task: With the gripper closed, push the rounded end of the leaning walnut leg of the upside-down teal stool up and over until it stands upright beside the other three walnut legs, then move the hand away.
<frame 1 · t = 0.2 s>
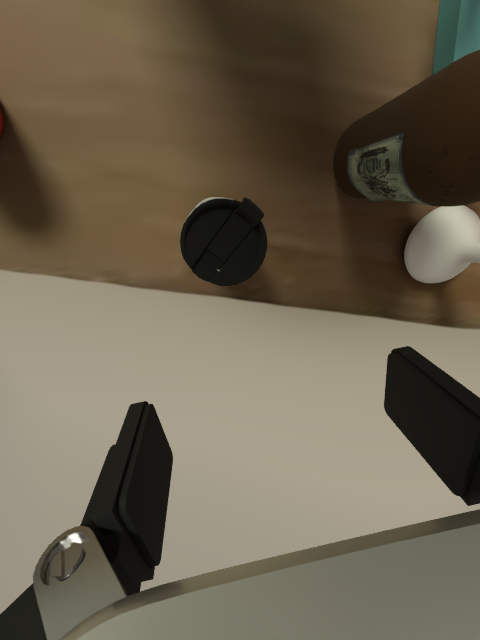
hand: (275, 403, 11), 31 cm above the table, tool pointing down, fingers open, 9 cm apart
flower in vase: (432, 249, 42), on the table
olive oil: (366, 159, 36), on the table
travel mug: (215, 221, 37), on the table
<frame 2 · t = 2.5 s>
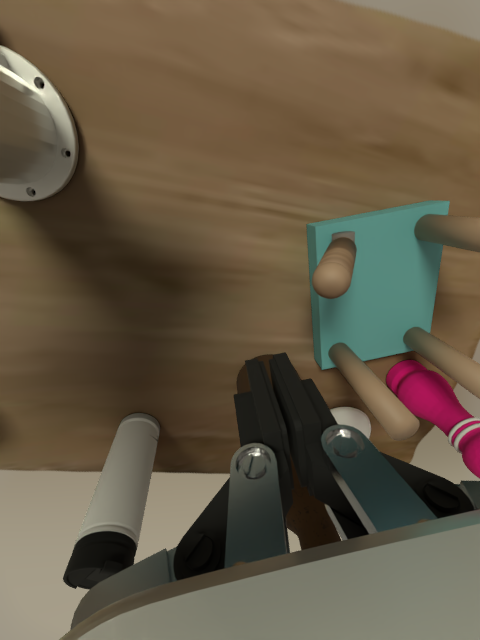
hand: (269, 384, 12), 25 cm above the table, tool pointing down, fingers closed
pepper mill: (402, 374, 46), on the table
flower in vase: (334, 428, 49), on the table
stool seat: (366, 287, 38), on the table
olive oil: (265, 378, 43), on the table
travel mug: (141, 425, 44), on the table
hinged leg: (340, 255, 28), point 8 cm above the table, hinge at 30.0°
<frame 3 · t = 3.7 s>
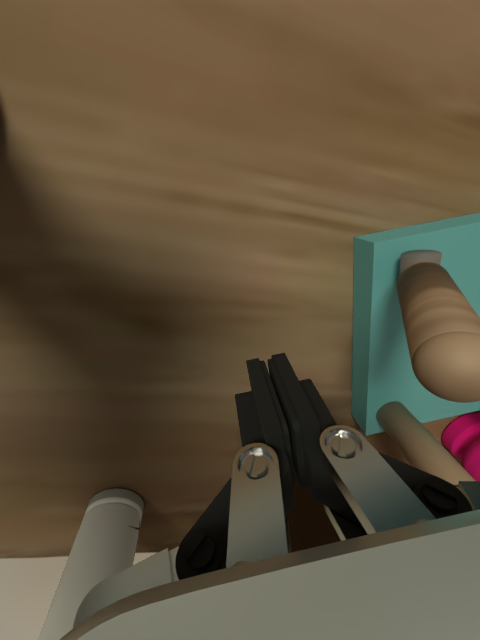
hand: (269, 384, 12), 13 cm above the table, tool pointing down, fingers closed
pepper mill: (463, 429, 35), on the table
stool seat: (429, 323, 27), on the table
olive oil: (284, 440, 32), on the table
travel mug: (118, 501, 33), on the table
hinged leg: (425, 292, 17), point 8 cm above the table, hinge at 30.0°
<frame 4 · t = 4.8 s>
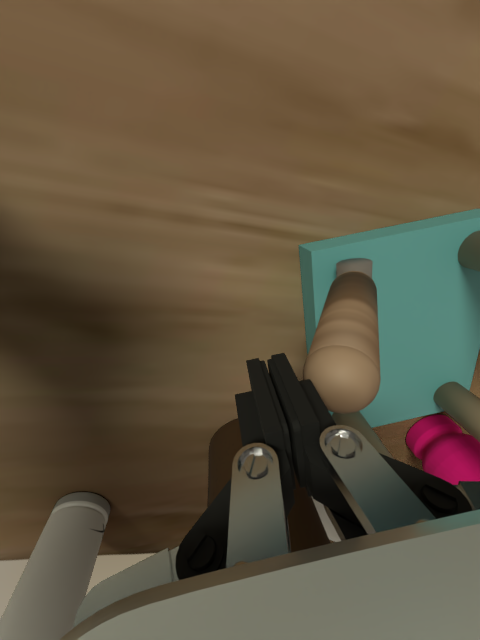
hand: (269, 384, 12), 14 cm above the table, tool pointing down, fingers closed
pepper mill: (427, 431, 35), on the table
flower in vase: (338, 494, 39), on the table
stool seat: (383, 328, 28), on the table
olive oil: (247, 444, 33), on the table
travel mug: (85, 505, 33), on the table
hinged leg: (351, 301, 17), point 8 cm above the table, hinge at 30.0°, touching gripper
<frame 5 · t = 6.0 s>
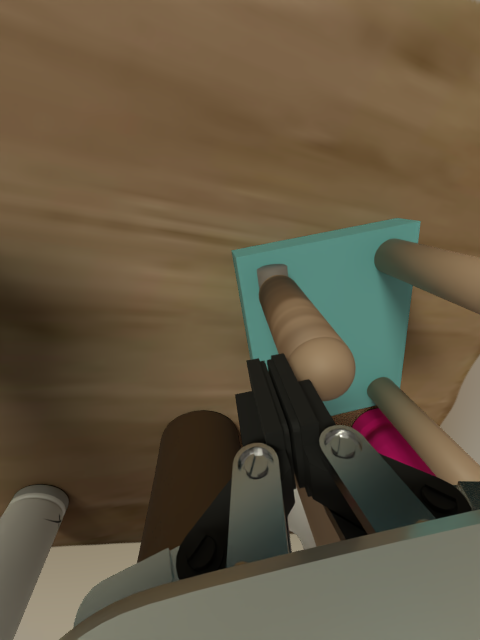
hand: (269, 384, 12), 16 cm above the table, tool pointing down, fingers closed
pepper mill: (371, 423, 38), on the table
flower in vase: (292, 485, 41), on the table
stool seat: (319, 327, 30), on the table
olive oil: (199, 437, 34), on the table
travel mug: (43, 497, 35), on the table
hinged leg: (282, 302, 19), point 8 cm above the table, hinge at 4.1°, touching gripper
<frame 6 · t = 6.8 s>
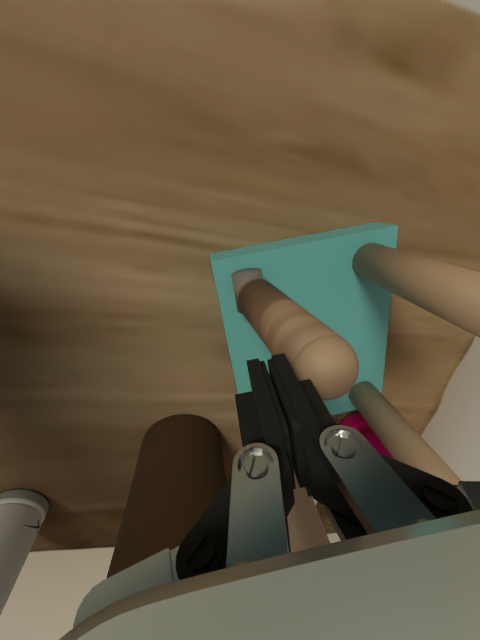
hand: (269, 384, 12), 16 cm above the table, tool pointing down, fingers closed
pepper mill: (356, 427, 38), on the table
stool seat: (300, 331, 30), on the table
olive oil: (181, 441, 34), on the table
travel mug: (23, 502, 34), on the table
hinged leg: (263, 305, 19), point 8 cm above the table, hinge at -6.8°, touching gripper
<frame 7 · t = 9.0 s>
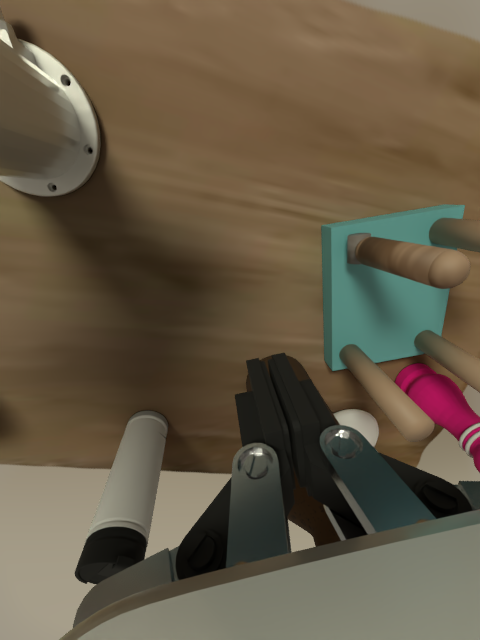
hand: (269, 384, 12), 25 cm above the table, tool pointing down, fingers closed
pepper mill: (411, 377, 46), on the table
flower in vase: (341, 430, 49), on the table
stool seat: (378, 290, 39), on the table
olive oil: (274, 379, 43), on the table
travel mug: (149, 423, 44), on the table
hinged leg: (378, 253, 28), point 8 cm above the table, hinge at -6.6°
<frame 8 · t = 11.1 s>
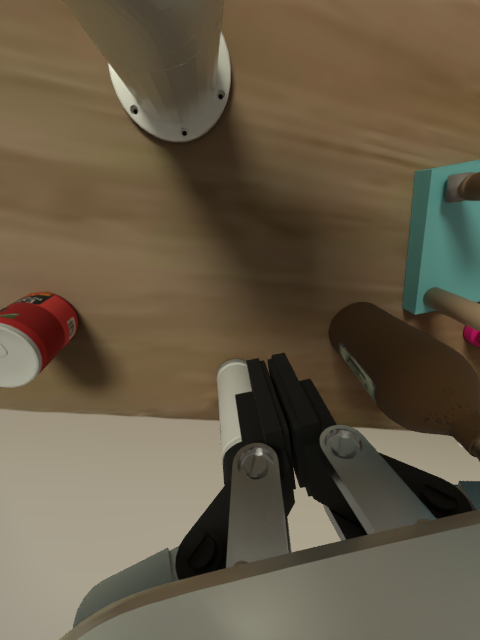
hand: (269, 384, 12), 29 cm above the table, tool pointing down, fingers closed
pepper mill: (478, 326, 49), on the table
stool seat: (459, 236, 41), on the table
olive oil: (354, 327, 46), on the table
travel mug: (235, 372, 47), on the table
canned food: (52, 316, 39), on the table
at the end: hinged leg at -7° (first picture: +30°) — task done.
